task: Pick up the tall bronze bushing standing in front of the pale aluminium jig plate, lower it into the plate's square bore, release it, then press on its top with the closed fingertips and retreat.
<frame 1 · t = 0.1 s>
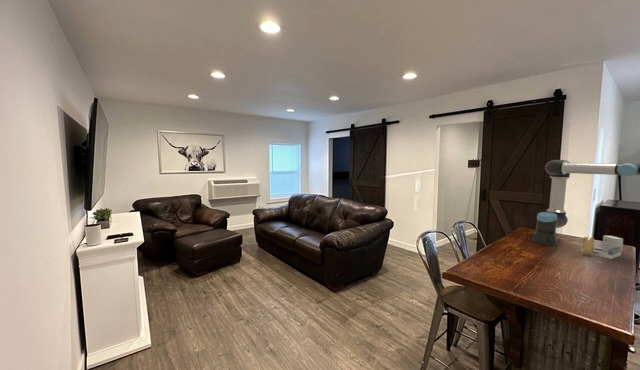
jig: (600, 253, 180), on the table
small box: (611, 251, 185), on the table
bushing: (587, 255, 177), on the table
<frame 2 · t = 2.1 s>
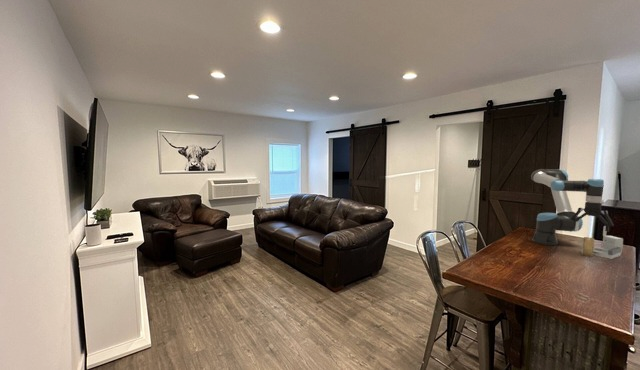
hand: (590, 233, 175), 15 cm above the table, fingers open, 13 cm apart
nothing on the table moved.
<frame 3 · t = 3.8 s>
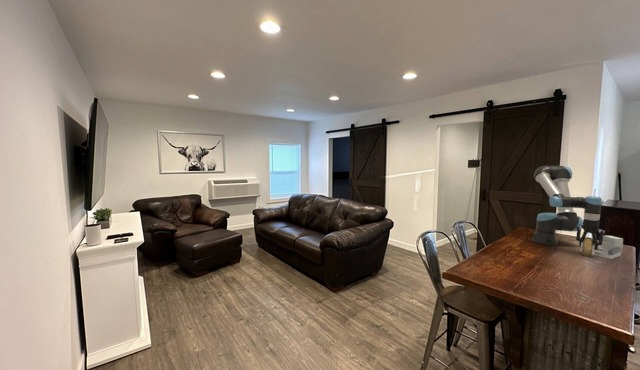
hand: (587, 252, 177), 2 cm above the table, fingers closed on bushing, 5 cm apart
bushing: (587, 255, 177), on the table, touching gripper
everything else where it was.
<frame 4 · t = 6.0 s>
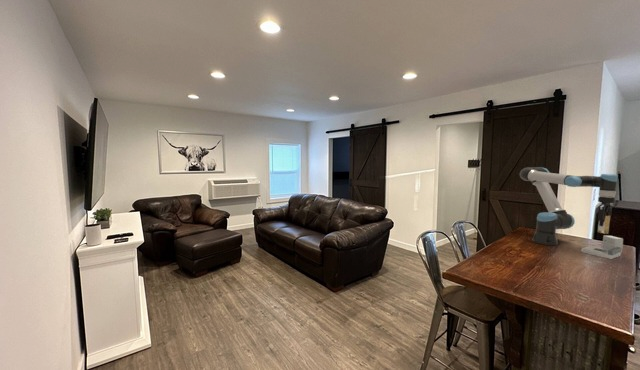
hand: (602, 230, 178), 17 cm above the table, fingers closed on bushing, 5 cm apart
bushing: (602, 232, 178), point 15 cm above the table, touching gripper
everything else where it was.
when the fingers open (4 cm above the table, at t = 8.0 s): bushing stays where it is, resting in jig.
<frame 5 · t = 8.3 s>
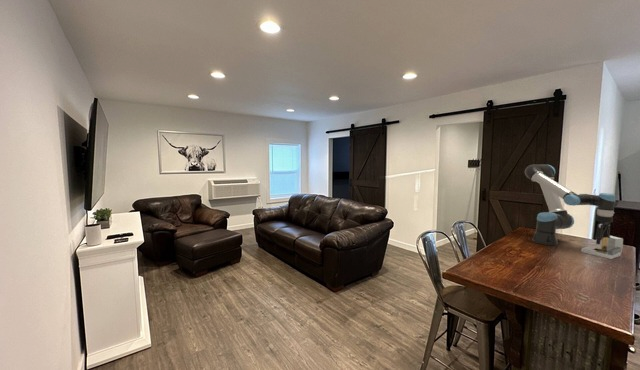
hand: (601, 247, 180), 4 cm above the table, fingers open, 9 cm apart
bushing: (600, 253, 180), resting in jig
everything else where it was.
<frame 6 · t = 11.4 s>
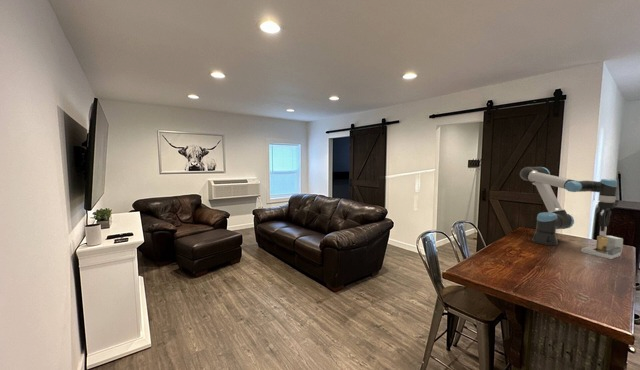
hand: (602, 235, 179), 13 cm above the table, fingers closed
nothing on the table moved.
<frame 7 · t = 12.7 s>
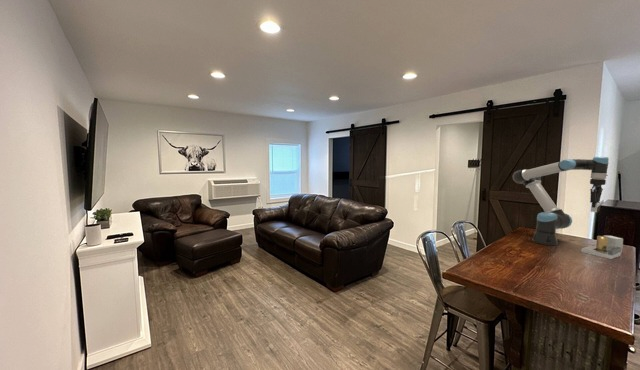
hand: (593, 211, 185), 28 cm above the table, fingers closed
nothing on the table moved.
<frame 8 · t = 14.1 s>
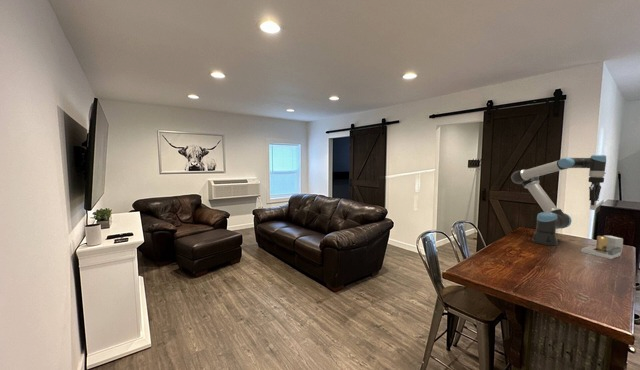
hand: (592, 209, 186), 29 cm above the table, fingers closed
nothing on the table moved.
at the end: bushing 0.0 cm off-centre on the jig, point 0.0 cm above the jig's base; bushing tilted 0°; the gripper is holding nothing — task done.
